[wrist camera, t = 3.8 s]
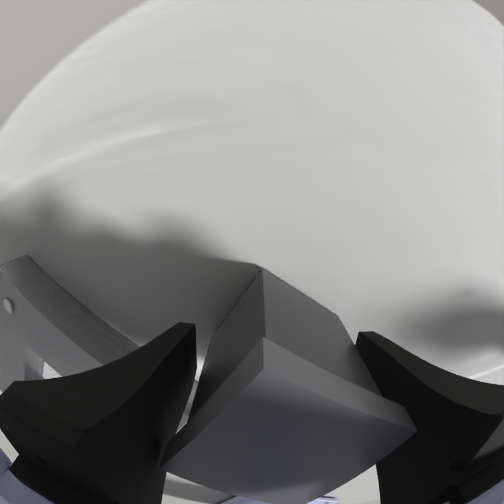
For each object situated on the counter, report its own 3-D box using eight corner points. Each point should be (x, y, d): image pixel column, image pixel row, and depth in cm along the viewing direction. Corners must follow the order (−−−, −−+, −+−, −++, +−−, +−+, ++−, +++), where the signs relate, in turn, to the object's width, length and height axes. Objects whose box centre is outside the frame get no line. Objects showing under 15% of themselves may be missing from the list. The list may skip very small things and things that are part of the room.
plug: (346, 313, 11) (417, 430, 5) (284, 382, 12) (298, 507, 5) (260, 256, 11) (263, 368, 4) (202, 339, 12) (159, 468, 5)
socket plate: (200, 383, 13) (189, 424, 10) (134, 459, 15) (123, 486, 12) (26, 254, 11) (-10, 269, 8) (15, 372, 14) (-5, 391, 11)
